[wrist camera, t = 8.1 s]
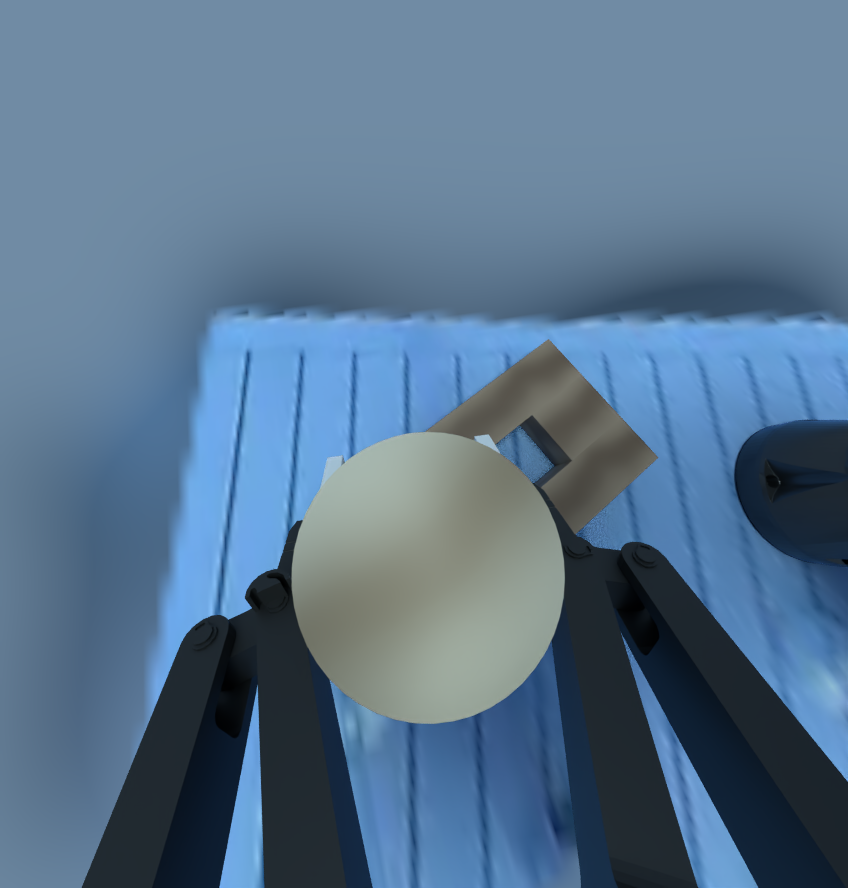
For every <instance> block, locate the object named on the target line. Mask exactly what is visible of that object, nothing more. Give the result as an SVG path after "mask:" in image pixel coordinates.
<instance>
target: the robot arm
mask: <svg viewBox="0 0 848 888" xmlns="http://www.w3.org/2000/svg"><path fill="white" fill-rule="evenodd" d="M474 440H475V441H477V442H479V443H481V444H483V445H486V446H488V447H490V448H491V449H493V450H495V451H496V452H498V453H500V452H499V450H498V449H497V447H496V445H495V444H494V442H493V441H492V439H491V437H490V436H489V434H488V435H481V436H474ZM344 463H345V462H344V458H343V455H342V456H336V457H329V458H327V462H326V466H325V470H324V474H323V479H322V483H321V487H322V486H323V484H324V483H325V482H326V481H327V480H328V479H329V478H330V476H331V475H332V474H333V473H334V472H335V471H336V470H337V469H338V468H339V467H340V466H342V465H343V464H344ZM736 480H737V488H738V492H739V496H740V499H741V502H742V505H743V507H744V509H745V511H746V513H747V515H748V517H749V518H750V520H751V521H752V523H753V524H754V526H755V527H756V528H757V530H758V531H759V532H760V533H761V534H762V535H763V536H764V537H765V538H766V539H767V540H768V541H769V542H770V543H771V544H773V545H774V546H775V547H776V548H778V549H779V550H781V551H782V552H784V553H786V554H788V555H790V556H792V557H794V558H796V559H799V560H802V561H806V562H810V563H817V564H825V565H833V566H841V567H848V420H798V421H792V422H788V423H783V424H779V425H774V426H770V427H767V428H764V429H762V430H760V431H759V432H757V433H756V434H754V435H753V436H752V437H751V438H750V439H749V440H748V441H747V442H746V444H745V445H744V447H743V448H742V450H741V453H740V455H739V458H738V463H737V469H736ZM532 484H533V485H534V486H535V488H536V489H537V490H538V492H539V493H540V495H541V496H542V498H543V500H544V501H545V503H546V505H547V507H548V508H549V511H550V513H551V515H552V518H553V520H554V522H555V525H556V528H557V531H558V534H559V538H560V541H561V547H562V552H563V558H564V572H565V584H564V598H563V603H562V608H561V614H560V618H559V621H558V624H557V627H556V630H555V633H554V636H553V638H552V647H553V655H554V663H555V671H556V680H557V688H558V696H559V704H560V712H561V720H562V728H563V736H564V744H565V752H566V760H567V768H568V777H569V785H570V793H571V801H572V809H573V817H574V825H575V833H576V841H577V849H578V857H579V865H580V875H581V888H698V886H697V883H696V880H695V877H694V873H693V870H692V867H691V864H690V860H689V857H688V854H687V850H686V847H685V844H684V840H683V837H682V834H681V830H680V827H679V824H678V820H677V817H676V814H675V811H674V807H673V804H672V801H671V797H670V794H669V791H668V787H667V784H666V781H665V777H664V774H663V771H662V768H661V764H660V761H659V758H658V754H657V751H656V748H655V744H654V741H653V738H652V734H651V731H650V728H649V724H648V721H647V718H646V715H645V711H644V708H643V705H642V701H641V698H640V695H639V691H638V688H637V685H636V681H635V678H634V675H633V671H632V668H631V665H630V662H629V658H628V655H627V652H626V648H625V645H624V642H623V638H622V635H623V637H624V639H625V641H626V642H627V644H628V646H629V648H630V650H631V652H632V654H633V655H634V657H635V659H636V661H637V663H638V665H639V667H640V668H641V670H642V672H643V674H644V676H645V678H646V680H647V681H648V683H649V685H650V687H651V689H652V691H653V693H654V694H655V696H656V698H657V700H658V702H659V704H660V706H661V707H662V709H663V711H664V713H665V715H666V717H667V719H668V720H669V722H670V724H671V726H672V728H673V730H674V731H675V733H676V735H677V737H678V739H679V741H680V743H681V744H682V746H683V748H684V750H685V752H686V754H687V756H688V757H689V759H690V761H691V763H692V765H693V767H694V769H695V770H696V772H697V774H698V776H699V778H700V780H701V782H702V783H703V785H704V787H705V789H706V791H707V793H708V795H709V796H710V798H711V800H712V802H713V804H714V806H715V808H716V809H717V811H718V813H719V815H720V817H721V819H722V821H723V822H724V824H725V826H726V828H727V830H728V832H729V834H730V835H731V837H732V839H733V841H734V843H735V845H736V847H737V848H738V850H739V852H740V854H741V856H742V858H743V860H744V861H745V863H746V865H747V867H748V869H749V871H750V873H751V874H752V876H753V878H754V880H755V882H756V884H757V886H758V887H759V888H848V782H847V780H846V779H845V778H844V777H843V775H842V774H841V773H840V772H839V771H838V769H837V768H836V767H835V766H834V764H833V763H832V762H831V761H830V759H829V758H828V757H827V756H826V755H825V753H824V752H823V751H822V750H821V748H820V747H819V746H818V745H817V743H816V742H815V741H814V740H813V739H812V737H811V736H810V735H809V734H808V732H807V731H806V730H805V729H804V727H803V726H802V725H801V724H800V723H799V721H798V720H797V719H796V718H795V716H794V715H793V714H792V713H791V711H790V710H789V709H788V708H787V707H786V705H785V704H784V703H783V702H782V700H781V699H780V698H779V697H778V695H777V694H776V693H775V692H774V691H773V689H772V688H771V687H770V686H769V684H768V683H767V682H766V681H765V679H764V678H763V677H762V676H761V675H760V673H759V672H758V671H757V670H756V668H755V667H754V666H753V665H752V663H751V662H750V661H749V660H748V659H747V657H746V656H745V655H744V654H743V652H742V651H741V650H740V649H739V647H738V646H737V645H736V644H735V643H734V641H733V640H732V639H731V638H730V636H729V635H728V634H727V633H726V631H725V630H724V629H723V628H722V627H721V625H720V624H719V623H718V622H717V620H716V619H715V618H714V617H713V615H712V614H711V613H710V612H709V611H708V609H707V608H706V607H705V606H704V604H703V603H702V602H701V601H700V599H699V598H698V597H697V596H696V595H695V593H694V592H693V591H692V590H691V588H690V587H689V586H688V585H687V583H686V582H685V581H684V580H683V579H682V577H681V576H680V575H679V574H678V572H677V571H676V570H675V569H674V567H673V566H672V565H671V564H670V563H669V561H668V560H667V559H666V558H665V556H664V555H662V554H661V553H660V552H659V551H658V550H657V549H655V548H653V547H652V546H650V545H647V544H644V543H641V542H630V543H626V544H625V545H624V546H623V547H622V549H621V551H620V550H612V549H603V548H597V547H594V546H592V545H591V544H590V543H589V542H588V541H586V540H585V539H583V538H581V537H577V536H576V535H575V534H574V532H573V531H572V529H571V528H570V527H569V525H568V524H567V522H566V521H565V520H564V518H563V517H562V515H561V514H560V512H559V511H558V510H557V508H555V505H554V504H553V502H552V501H550V498H549V497H548V495H547V494H546V492H545V491H544V490H543V489H542V488H540V487H539V486H537V485H536V484H535V483H532ZM321 487H320V489H321ZM302 522H303V520H301V521H297V522H296V523H295V524H294V526H293V527H292V528H291V530H290V531H289V534H288V537H287V540H286V544H285V546H284V550H283V553H282V556H281V559H280V562H279V566H278V569H274V570H270V571H267V572H265V573H263V574H261V575H260V576H258V577H257V578H256V579H255V580H254V581H253V582H252V583H251V584H250V586H249V588H248V589H247V591H246V595H245V599H246V600H247V602H248V603H249V605H250V606H251V607H252V609H250V610H248V611H246V612H244V613H242V614H240V615H238V616H236V617H233V618H231V619H229V620H228V619H227V618H226V617H224V616H221V615H214V616H210V617H208V618H205V619H203V620H202V621H200V622H199V623H198V624H196V625H195V626H194V627H193V628H192V629H191V630H190V631H189V632H188V633H187V634H186V636H185V637H184V639H183V641H182V643H181V645H180V647H179V650H178V652H177V655H176V657H175V659H174V662H173V664H172V667H171V669H170V672H169V674H168V677H167V679H166V682H165V684H164V687H163V689H162V691H161V694H160V696H159V699H158V701H157V704H156V706H155V709H154V711H153V714H152V716H151V719H150V721H149V723H148V726H147V728H146V731H145V733H144V736H143V738H142V741H141V743H140V746H139V748H138V751H137V753H136V755H135V758H134V760H133V763H132V765H131V768H130V770H129V773H128V775H127V778H126V780H125V783H124V785H123V788H122V790H121V792H120V795H119V797H118V800H117V802H116V805H115V807H114V810H113V812H112V815H111V817H110V820H109V822H108V824H107V827H106V829H105V832H104V834H103V837H102V839H101V842H100V844H99V847H98V849H97V852H96V854H95V856H94V859H93V861H92V864H91V867H90V869H89V871H88V874H87V876H86V878H85V881H84V883H83V886H82V888H219V886H220V881H221V875H222V870H223V865H224V859H225V854H226V849H227V843H228V838H229V833H230V828H231V822H232V817H233V812H234V806H235V801H236V796H237V791H238V785H239V780H240V775H241V769H242V764H243V759H244V753H245V748H246V743H247V738H248V732H249V727H250V722H251V716H252V711H253V706H254V701H255V695H256V690H257V685H258V705H259V735H260V765H261V795H262V825H263V855H264V885H265V888H372V883H371V878H370V873H369V868H368V863H367V858H366V854H365V849H364V844H363V839H362V834H361V829H360V825H359V820H358V815H357V810H356V805H355V800H354V796H353V791H352V786H351V781H350V776H349V771H348V767H347V762H346V757H345V752H344V747H343V742H342V738H341V733H340V728H339V723H338V718H337V713H336V709H335V704H334V699H333V694H332V689H331V684H330V680H329V678H328V677H327V676H326V674H325V673H324V672H323V670H322V669H321V668H320V666H319V665H318V664H317V662H316V661H315V659H314V657H313V655H312V654H311V652H310V650H309V648H308V647H307V645H306V642H305V640H304V637H303V635H302V632H301V630H300V627H299V624H298V620H297V616H296V612H295V608H294V602H293V594H292V563H293V555H294V548H295V544H296V540H297V536H298V532H299V529H300V527H301V524H302ZM620 631H621V632H620ZM621 633H622V635H621Z"/></svg>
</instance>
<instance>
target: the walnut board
mask: <svg viewBox="0 0 848 888" xmlns="http://www.w3.org/2000/svg"><path fill="white" fill-rule="evenodd" d="M519 425H520V426H521V427H522V428H523V429H524V431H525V432H526V433H527V434H528V435H529V436H530V437H531V439H532V440H533V441H534V442H535V443H536V444H537V446H538V447H539V448H540V449H541V450H542V451H543V453H544V454H545V455H546V456H547V457H548V458H549V460H550V461H551V462H552V463H553V464H554V465H555V466H554V467H553V468H552V469H551V470H549V471H548V472H547V473H546V474H545V475H544V476H542V477H541V478H540V479H539V480H538V481H537V482H535V484H536V485H537V486H539V487H540V488H542V489H543V490H544V491H545V492H546V494H547V495H548V497H549V498H550V501H552V502H553V504H554V505H555V508H557V510H558V511H559V512H560V514H561V515H562V517H563V518H564V520H565V521H566V522H567V524H568V525H569V527H570V528H571V529H572V531H573V532H574V534H576V533H577V532H579V531H580V530H581V529H582V528H583V527H584V526H585V525H586V524H587V523H588V522H589V521H590V520H591V519H593V518H594V517H595V516H596V515H597V514H598V513H599V512H600V511H601V510H602V509H603V508H604V507H605V506H607V505H608V504H609V503H610V502H611V501H612V500H613V499H614V498H615V497H616V496H617V495H618V494H620V493H621V492H622V491H623V490H624V489H625V488H626V487H627V486H628V485H629V484H630V483H631V482H632V481H634V480H635V479H636V478H637V477H638V476H639V475H640V474H641V473H642V472H643V471H644V470H645V469H647V468H648V467H649V466H650V465H651V464H652V463H653V462H654V461H655V460H656V459H657V458H658V457H657V456H656V454H655V453H654V452H653V451H652V450H651V449H650V448H649V447H648V446H647V445H646V444H645V443H644V442H643V440H642V439H641V438H640V437H639V436H638V435H637V434H636V433H635V432H634V431H633V430H632V429H631V427H630V426H629V425H628V424H627V423H626V422H625V421H624V420H623V419H622V418H621V417H620V416H619V415H618V413H617V412H616V411H615V410H614V409H613V408H612V407H611V406H610V405H609V404H608V403H607V402H606V401H605V399H604V398H603V397H602V396H601V395H600V394H599V393H598V392H597V391H596V390H595V389H594V388H593V386H592V385H591V384H590V383H589V382H588V381H587V380H586V379H585V378H584V377H583V376H582V375H581V374H580V372H579V371H578V370H577V369H576V368H575V367H574V366H573V365H572V364H571V363H570V362H569V361H568V360H567V358H566V357H565V356H564V355H563V354H562V353H561V352H560V351H559V350H558V349H557V348H556V347H555V345H554V344H553V343H552V342H551V341H550V340H549V339H548V340H547V341H545V342H544V343H543V344H541V345H540V346H539V347H537V348H536V349H535V350H533V351H532V352H531V353H529V354H528V355H527V356H525V357H524V358H523V359H521V360H520V361H519V362H517V363H516V364H515V365H513V366H512V367H511V368H509V369H508V370H507V371H505V372H504V373H503V374H501V375H500V376H499V377H497V378H496V379H495V380H493V381H492V382H491V383H489V384H488V385H487V386H485V387H484V388H483V389H481V390H480V391H479V392H477V393H476V394H475V395H473V396H472V397H471V398H469V399H468V400H467V401H465V402H464V403H463V404H461V405H460V406H459V407H457V408H456V409H455V410H453V411H452V412H451V413H449V414H448V415H447V416H445V417H444V418H443V419H441V420H440V421H439V422H437V423H436V424H435V425H433V426H432V427H431V428H429V429H428V430H427V431H425V432H438V433H447V434H453V435H458V436H462V437H465V438H468V439H471V440H474V436H481V435H488V434H489V436H490V437H491V439H492V441H493V442H494V444H496V443H498V442H499V441H500V440H501V439H503V438H504V437H505V436H506V435H508V434H509V433H510V432H511V431H513V430H514V429H515V428H516V427H518V426H519Z"/></svg>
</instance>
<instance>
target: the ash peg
mask: <svg viewBox="0 0 848 888" xmlns="http://www.w3.org/2000/svg"><path fill="white" fill-rule="evenodd" d="M564 584H565V572H564V558H563V552H562V547H561V541H560V538H559V534H558V531H557V528H556V525H555V522H554V520H553V518H552V515H551V513H550V511H549V508H548V507H547V505H546V503H545V501H544V500H543V498H542V496H541V495H540V493H539V492H538V490H537V489H536V488H535V486H534V485H533V484H532V482H531V481H530V480H529V479H528V477H527V476H526V475H525V474H524V473H523V472H522V471H521V470H520V469H519V468H518V467H517V466H516V465H514V464H513V463H512V462H511V461H509V460H508V459H507V458H506V457H504V456H503V455H501V454H500V453H498V452H496V451H495V450H493V449H491V448H490V447H488V446H486V445H483V444H481V443H479V442H477V441H475V440H471V439H468V438H465V437H462V436H458V435H453V434H447V433H438V432H419V433H409V434H404V435H399V436H395V437H392V438H389V439H386V440H383V441H380V442H378V443H376V444H374V445H372V446H369V447H367V448H365V449H364V450H362V451H360V452H359V453H357V454H356V455H354V456H353V457H351V458H350V459H349V460H347V461H346V462H345V463H344V464H343V465H342V466H340V467H339V468H338V469H337V470H336V471H335V472H334V473H333V474H332V475H331V476H330V478H329V479H328V480H327V481H326V482H325V483H324V484H323V486H322V487H321V489H320V490H319V492H318V493H317V494H316V496H315V497H314V499H313V501H312V503H311V505H310V506H309V508H308V510H307V512H306V514H305V516H304V519H303V522H302V524H301V527H300V529H299V532H298V536H297V540H296V544H295V548H294V555H293V563H292V594H293V602H294V608H295V612H296V616H297V620H298V624H299V627H300V630H301V632H302V635H303V637H304V640H305V642H306V645H307V647H308V648H309V650H310V652H311V654H312V655H313V657H314V659H315V661H316V662H317V664H318V665H319V666H320V668H321V669H322V670H323V672H324V673H325V674H326V676H327V677H328V678H329V679H330V680H331V681H332V682H333V683H334V684H335V685H336V686H337V687H338V688H339V689H340V690H341V691H342V692H343V693H345V694H346V695H347V696H349V697H350V698H351V699H353V700H354V701H355V702H357V703H358V704H360V705H362V706H364V707H365V708H367V709H369V710H371V711H373V712H375V713H377V714H380V715H383V716H386V717H389V718H392V719H394V720H399V721H405V722H410V723H423V724H437V723H445V722H452V721H457V720H460V719H464V718H467V717H471V716H474V715H476V714H478V713H480V712H482V711H484V710H487V709H489V708H491V707H492V706H494V705H495V704H497V703H499V702H500V701H502V700H503V699H505V698H506V697H508V696H509V695H510V694H511V693H512V692H513V691H514V690H516V689H517V688H518V687H519V686H520V685H521V684H522V683H523V682H524V681H525V680H526V679H527V677H528V676H529V675H530V674H531V673H532V672H533V671H534V669H535V668H536V666H537V665H538V663H539V662H540V660H541V659H542V657H543V656H544V654H545V653H546V650H547V648H548V646H549V644H550V642H551V640H552V638H553V636H554V633H555V630H556V627H557V624H558V621H559V618H560V614H561V608H562V603H563V598H564Z"/></svg>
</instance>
